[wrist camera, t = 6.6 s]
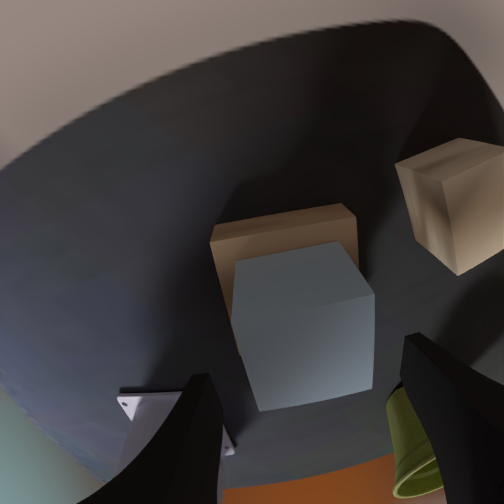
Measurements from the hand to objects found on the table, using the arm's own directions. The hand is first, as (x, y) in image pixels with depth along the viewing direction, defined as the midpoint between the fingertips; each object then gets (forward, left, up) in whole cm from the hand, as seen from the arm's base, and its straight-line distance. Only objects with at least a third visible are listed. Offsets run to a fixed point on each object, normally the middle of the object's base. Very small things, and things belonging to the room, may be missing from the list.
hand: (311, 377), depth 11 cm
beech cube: (+4, -10, -9) cm, 14 cm away
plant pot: (-15, -10, -9) cm, 20 cm away
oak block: (0, 0, -9) cm, 9 cm away
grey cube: (0, 0, -6) cm, 6 cm away
